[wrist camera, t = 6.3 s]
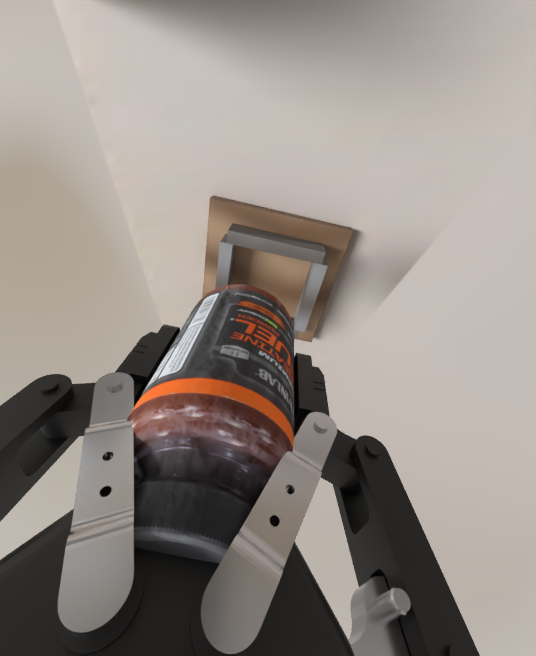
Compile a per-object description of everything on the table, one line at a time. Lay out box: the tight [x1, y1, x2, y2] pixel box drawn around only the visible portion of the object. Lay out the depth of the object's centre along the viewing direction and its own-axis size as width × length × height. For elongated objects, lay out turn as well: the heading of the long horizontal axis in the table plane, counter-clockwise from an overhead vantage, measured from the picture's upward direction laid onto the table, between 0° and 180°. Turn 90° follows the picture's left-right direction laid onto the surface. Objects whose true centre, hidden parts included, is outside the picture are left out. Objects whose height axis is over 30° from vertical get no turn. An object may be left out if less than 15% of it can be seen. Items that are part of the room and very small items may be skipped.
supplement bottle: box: [127, 284, 295, 564], centre depth 12 cm, size 6×6×11 cm
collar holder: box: [203, 196, 353, 342], centre depth 30 cm, size 14×14×4 cm
